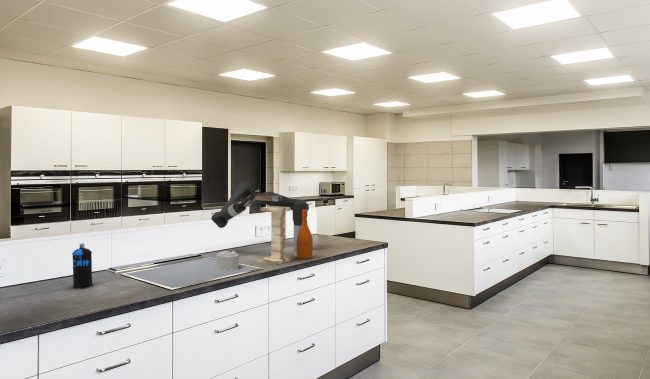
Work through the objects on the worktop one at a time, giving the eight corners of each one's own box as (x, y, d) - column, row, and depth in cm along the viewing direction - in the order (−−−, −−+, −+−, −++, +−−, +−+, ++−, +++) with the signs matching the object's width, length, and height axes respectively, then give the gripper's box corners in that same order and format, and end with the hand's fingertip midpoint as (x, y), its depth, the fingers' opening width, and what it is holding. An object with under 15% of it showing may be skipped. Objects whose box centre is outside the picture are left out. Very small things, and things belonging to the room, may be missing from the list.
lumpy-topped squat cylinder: (229, 264, 256) (229, 249, 256) (243, 267, 247) (243, 252, 247) (214, 267, 249) (213, 251, 248) (227, 270, 240) (227, 254, 239)
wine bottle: (315, 257, 277) (315, 208, 275) (308, 260, 268) (308, 210, 266) (301, 255, 281) (301, 208, 279) (293, 258, 272) (293, 209, 270)
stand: (274, 257, 274) (274, 205, 272) (292, 260, 268) (292, 206, 266) (258, 262, 260) (258, 207, 259) (276, 265, 254) (276, 209, 252)
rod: (252, 199, 273) (252, 194, 273) (281, 200, 262) (281, 195, 262) (248, 199, 270) (248, 194, 269) (277, 201, 259) (277, 196, 259)
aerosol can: (77, 284, 211) (76, 242, 210) (95, 283, 212) (94, 242, 211) (69, 288, 203) (68, 245, 202) (88, 288, 204) (87, 245, 203)
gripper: (226, 203, 271) (246, 190, 264) (241, 202, 284) (260, 189, 276) (231, 214, 270) (251, 201, 262) (246, 212, 282) (265, 200, 274)
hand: (256, 195), depth 269 cm, fingers closed on rod, 2 cm apart
